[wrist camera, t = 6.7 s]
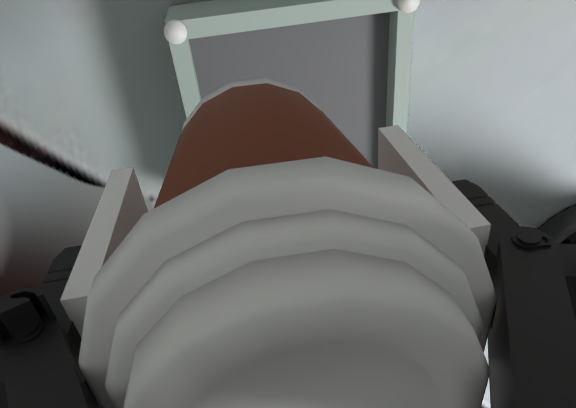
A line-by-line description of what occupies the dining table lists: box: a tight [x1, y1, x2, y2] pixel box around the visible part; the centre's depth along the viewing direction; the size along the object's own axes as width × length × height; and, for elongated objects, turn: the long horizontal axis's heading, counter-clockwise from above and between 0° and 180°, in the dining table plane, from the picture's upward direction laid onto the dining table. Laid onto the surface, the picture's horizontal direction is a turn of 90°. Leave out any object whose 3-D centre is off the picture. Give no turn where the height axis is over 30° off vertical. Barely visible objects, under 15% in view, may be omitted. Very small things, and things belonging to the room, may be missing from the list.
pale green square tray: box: [164, 0, 420, 169], centre depth 30 cm, size 14×14×5 cm
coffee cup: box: [78, 78, 497, 408], centre depth 13 cm, size 9×9×12 cm
